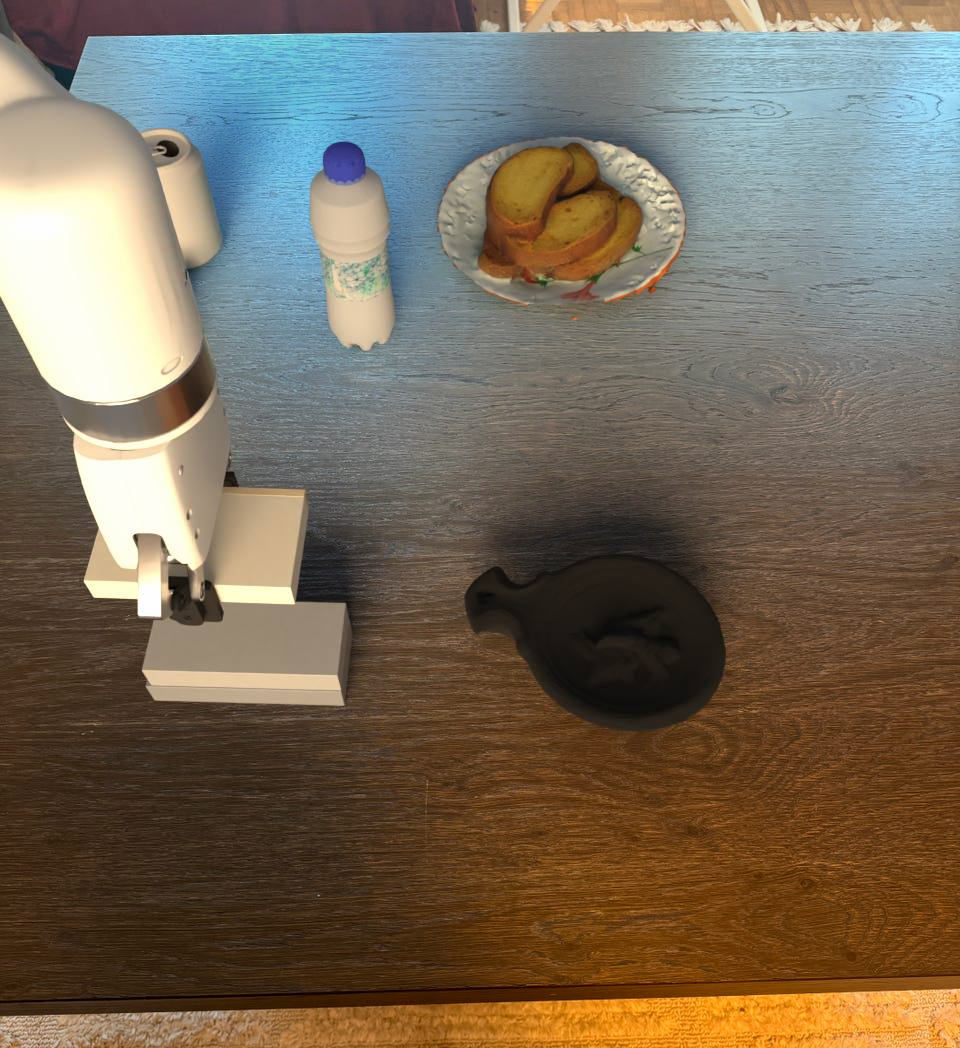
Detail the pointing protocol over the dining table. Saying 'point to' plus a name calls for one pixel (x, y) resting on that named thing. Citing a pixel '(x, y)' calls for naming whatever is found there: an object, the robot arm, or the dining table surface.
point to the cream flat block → (231, 550)
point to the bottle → (353, 246)
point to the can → (186, 194)
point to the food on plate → (562, 222)
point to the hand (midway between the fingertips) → (209, 560)
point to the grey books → (253, 655)
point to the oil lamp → (609, 638)
